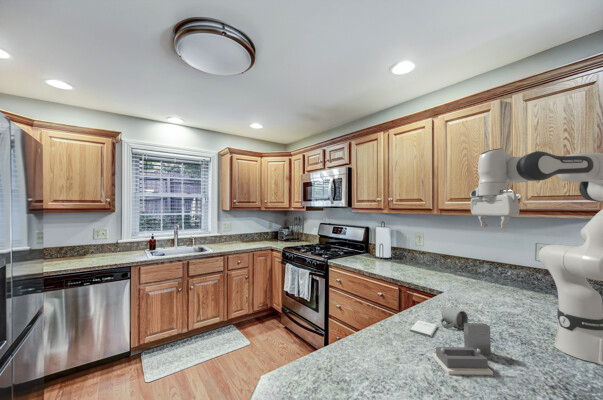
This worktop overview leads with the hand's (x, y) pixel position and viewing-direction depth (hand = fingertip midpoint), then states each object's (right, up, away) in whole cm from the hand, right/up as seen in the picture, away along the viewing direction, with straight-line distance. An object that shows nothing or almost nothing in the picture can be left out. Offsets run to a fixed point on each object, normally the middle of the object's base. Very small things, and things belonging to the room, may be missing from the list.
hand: (493, 227), depth 96 cm
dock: (-19, -45, -11) cm, 50 cm away
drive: (-8, -46, -3) cm, 47 cm away
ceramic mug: (-4, -47, +19) cm, 51 cm away
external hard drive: (-19, -47, +15) cm, 53 cm away
